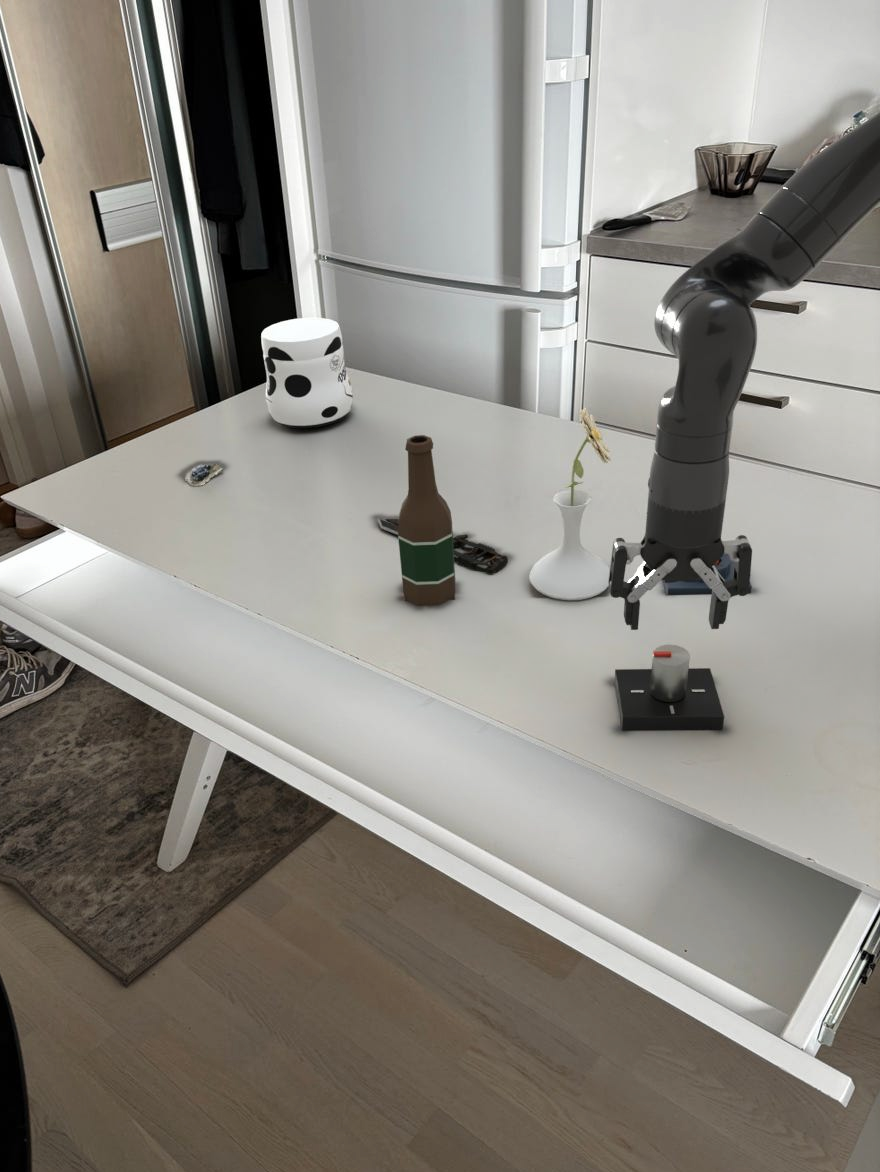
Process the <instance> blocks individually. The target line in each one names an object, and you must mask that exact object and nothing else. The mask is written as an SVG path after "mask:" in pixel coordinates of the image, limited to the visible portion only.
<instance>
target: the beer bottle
mask: <svg viewBox="0 0 880 1172" xmlns="http://www.w3.org/2000/svg"><path fill="white" fill-rule="evenodd" d="M433 449H434V441H433V439H432V437H430V436H427V435H425V434H420V435H413V436H411V437H409V438H407V439H406V442H405V451H407V466H408V467H407V474H408V475H407V476H408V477H407V479H408V480H407V481H408V490H407V495H406V497H405V498H404V500H403V501H402V503H401V507H400V510H399V515H398V519H399V520H398V525H397V526H398V535H397V537H398V548H399V549H398V550H399V559H400V572H401V581H402V582H401V583H402V593H403V598H404V602H410V603H412V604H414V605H416V606H418V607H423V606H424V607H428V606H429V607H430V606H441V605H442V604H445V603H447V602H448V601H455V600H456V567H455V565H456V564H455V561H454V557H455V555H454V551H455V548H454V547H453V538H454V532H453V529H454V528H453V520H452V511H451V509H450V507H449V505H448V503H447V500H446V499H445V498H443V496H442V495H441V494H440V493H439V490H438V487H437V482H436V475H435V467H434V459H433V452H432V450H433Z"/></svg>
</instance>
